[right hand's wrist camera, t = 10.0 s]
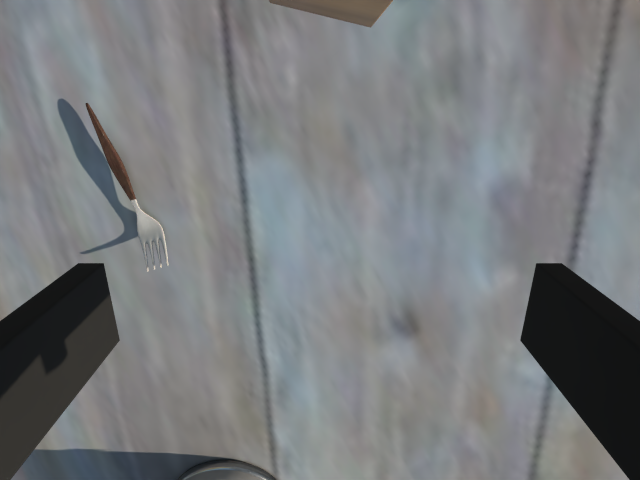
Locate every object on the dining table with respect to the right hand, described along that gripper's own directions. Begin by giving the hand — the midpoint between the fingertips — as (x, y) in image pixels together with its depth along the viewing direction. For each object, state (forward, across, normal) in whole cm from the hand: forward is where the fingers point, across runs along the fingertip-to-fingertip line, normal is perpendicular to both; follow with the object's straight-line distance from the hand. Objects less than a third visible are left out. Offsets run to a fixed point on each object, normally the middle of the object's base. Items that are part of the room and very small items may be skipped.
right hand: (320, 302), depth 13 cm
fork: (+27, +18, +3) cm, 33 cm away
